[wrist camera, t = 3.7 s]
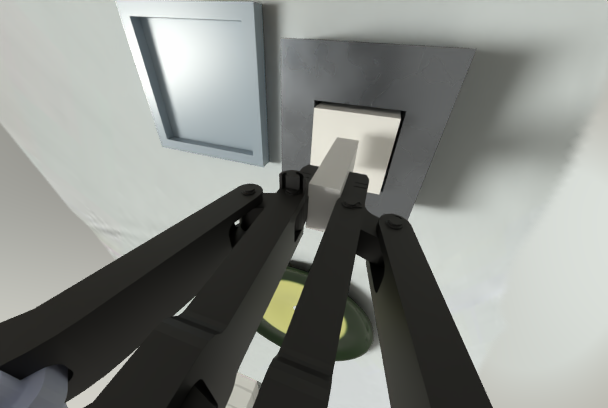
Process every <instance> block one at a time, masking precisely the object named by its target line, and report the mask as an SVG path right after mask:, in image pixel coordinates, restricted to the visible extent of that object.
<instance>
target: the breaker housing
mask: <svg viewBox="0 0 608 408" xmlns="http://www.w3.org/2000/svg"><path fill="white" fill-rule="evenodd" d="M475 51H476V49H469V48H452V47H434V46H417V45H400V44H383V43H366V42H348V41H331V40H314V39H297V38H281V115H282V172H283V171H286V170H297V171H300V170H301V169H302V167H304V166H306V165H310V160H311V146H312V131H313V117H314V107H316V106H317V105H318V104H320V103H321V102H322V101H326V102H335V103H343V104H351V105H359V106H368V107H376V108H384V109H393V110H401V112H400V113H401V120H400V124H399V127H398V131H397V134H396V138H395V141H394V145H393V148H392V152H391V155H390V159H389V162H388V166H387V169H386V173H385V176H384V180H383V184H382V187H381V191H380V194H374V193H369V192H367V195H366V201H365V207H366V209H367V210H368V211H369V212H370V213H371V214H373V215H375V216H377V217H379V218H380V216H381V215H384V214H396V215H399V216H401V217H403V218H405V219H406V220H408V218H409V216H410V213H411V211H412V208H413V206H414V203H415V201H416V198H417V196H418V193H419V191H420V188H421V186H422V183H423V181H424V178H425V176H426V173H427V171H428V168H429V166H430V163H431V161H432V158H433V156H434V153H435V151H436V148H437V146H438V143H439V141H440V138H441V136H442V133H443V131H444V129H445V126H446V124H447V121H448V119H449V116H450V114H451V111H452V109H453V106H454V104H455V101H456V99H457V96H458V94H459V91H460V89H461V86H462V84H463V81H464V79H465V76H466V74H467V71H468V69H469V66H470V64H471V61H472V59H473V56H474V54H475Z"/></svg>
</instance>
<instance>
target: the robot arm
mask: <svg viewBox="0 0 608 408" xmlns="http://www.w3.org/2000/svg"><path fill="white" fill-rule="evenodd" d="M358 144H359V140H352V139H346V138H339V137H337V138H336V140H335V141H334V143H333V145H332V146H331V148H330V150H329V151H328V153H327V155H326V156H325V158H324V159H323V161H322V163H321V164H320V166H314V165H306V166H304V167H302V169H301V170H300V171H297V170H286V171H283V172H281V173H280V174H279V182H280V189H279V190H278V191H277V193H263V189H262V188H261V187H260V186H259V185H256V184H245V185H241V186H239V187H237V188H236V189H234V190H232V191H231V192H229V193H227V194H226V195H224V196H222V197H221V198H219V199H217V200H216V201H214V202H212V203H211V204H209V205H207V206H206V207H204V208H202V209H201V210H199V211H197V212H196V213H194V214H192V215H190V216H189V217H187V218H185V219H184V220H182V221H180V222H179V223H177V224H175V225H174V226H172V227H170V228H169V229H167V230H165V231H164V232H162V233H160V234H159V235H157V236H155V237H154V238H152V239H150V240H149V241H147V242H145V243H144V244H142V245H140V246H139V247H137V248H135V249H134V250H132V251H130V252H129V253H127V254H125V255H124V256H122V257H120V258H118V259H117V260H115V261H114V262H112V263H110V264H108V265H107V266H105V267H103V268H102V269H100V270H98V271H97V272H95V273H94V274H92V275H90V276H88V277H87V278H85V279H83V280H82V281H80V282H78V283H77V284H75V285H73V286H72V287H70V288H68V289H67V290H65V291H63V292H62V293H60V294H59V295H57V296H55V297H53V298H52V299H50V300H48V301H47V302H45V303H43V304H41V305H40V306H38V307H36V308H35V309H33V310H30V311H28V312H26V313H23V314H21V315H18V316H16V317H14V318H11V319H9V320H6V321H4V322H1V323H0V408H68V407H67V405H66V402H67V401H69V400H71V399H72V398H74V397H75V396H77V395H78V394H80V393H81V392H83V391H85V390H86V389H87V388H89V387H90V386H92V385H93V384H94V383H95V382H97V381H98V380H100V379H101V378H102V377H104V376H105V375H106V374H107V373H109V372H110V371H111V370H112V369H114V368H115V367H116V366H117V365H118V364H120V363H121V362H122V361H123V360H124V359H125V358H127V357H128V356H129V355H130V354H131V353H132V352H133V351H134V350H135V349H137V348H138V347H139V348H138V349H137V350H136V351H135V353H134V354H133V355H132V356H131V357H130V358H129V360H128V361H127V362H126V363H125V365H124V366H123V367H122V368H121V369H120V370H119V372H118V373H117V374H116V375H115V376H114V378H113V379H112V380H111V381H110V383H109V384H108V385H107V386H106V387H105V388H104V390H103V391H102V392H101V393H100V394H99V396H98V397H97V398H96V399H95V400H94V401H93V403H91V404H89V405H87V406H86V407H84V408H225V407H226V405H227V403H228V401H229V398H230V396H231V393H232V391H233V388H234V384H235V380H236V375H237V372H238V369H239V367H240V364H241V362H242V360H243V358H244V356H245V354H246V352H247V350H248V348H249V345H250V343H251V341H252V339H253V337H254V335H255V333H256V331H257V329H258V327H259V325H260V322H261V320H262V318H263V316H264V314H265V312H266V310H267V308H268V306H269V304H270V302H271V299H272V297H273V295H274V293H275V291H276V289H277V287H278V285H279V283H280V281H281V279H282V276H283V274H284V272H285V270H286V268H287V266H288V264H289V262H290V260H291V258H292V256H293V253H294V251H295V249H296V247H297V245H298V243H299V241H300V239H301V237H302V235H303V228H304V224H305V222H306V228H310V229H314V230H318V231H322V232H324V235H323V237H322V240H321V242H320V245H319V248H318V250H317V253H316V256H315V258H314V261H313V264H312V266H311V269H310V271H309V274H308V277H307V279H306V282H305V285H304V287H303V290H302V293H301V295H300V298H299V300H298V303H297V306H296V308H295V311H294V314H293V316H292V319H291V322H290V324H289V327H288V329H287V332H286V335H285V337H284V340H283V343H282V345H281V348H280V350H279V352H278V354H277V355H276V356H275V357H274V358H273V360H272V362H271V364H270V365H269V368H268V370H267V372H266V375H265V377H264V380H263V382H262V385H261V387H260V390H259V392H258V395H257V397H256V400H255V403H254V405H253V408H327V407H328V401H329V396H330V390H331V384H332V374H333V369H334V364H335V358H336V353H337V348H338V343H339V338H340V333H341V327H342V322H343V317H344V312H345V307H346V302H347V296H348V291H349V286H350V281H351V276H352V271H353V265H354V260H355V255H356V254H357V255H358V256H360V257H362V258H364V259H366V267H367V272H368V278H369V284H370V290H371V295H372V301H373V307H374V313H375V318H376V324H377V330H378V336H379V341H380V347H381V353H382V359H383V365H384V370H385V376H386V382H387V388H388V393H389V399H390V405H391V408H493V407H492V405H491V403H490V400H489V398H488V396H487V394H486V392H485V389H484V387H483V385H482V383H481V380H480V378H479V376H478V374H477V371H476V369H475V367H474V365H473V362H472V360H471V358H470V356H469V354H468V351H467V349H466V347H465V345H464V342H463V340H462V338H461V336H460V333H459V331H458V329H457V327H456V325H455V322H454V320H453V318H452V316H451V313H450V311H449V309H448V307H447V304H446V302H445V300H444V298H443V295H442V293H441V291H440V289H439V287H438V284H437V282H436V280H435V278H434V275H433V273H432V271H431V269H430V266H429V264H428V262H427V260H426V257H425V255H424V253H423V251H422V249H421V246H420V244H419V242H418V240H417V237H416V235H415V233H414V231H413V228H412V226H411V224H410V223H409V222H408V220H406V219H405V218H403V217H401V216H399V215H396V214H384V215H381V216H380V218H379V217H377V216H375V215H373V214H371V213H370V212H369V211H368V210H367V209H366V207H365V201H366V195H367V190H368V185H369V178H368V176H367V175H365V174H360V173H354V172H353V170H354V165H355V159H356V154H357V149H358ZM237 220H239V221H240V223H239V224H237V225H235V224H234V223H235V222H236V221H237ZM195 296H196V297H195ZM194 297H195V298H194ZM193 298H194V299H193ZM191 299H193V300H192V302H191V303H190V304H189V306H188V307H187V308H186V309H185V310H184V311H183V313H181V314H180V315H178V316H174V315H175V314H176V313H177V312H178V311H179V310H180V309H181V308H183V307H184V306H185V305H186V304H187V303H188V302H189V301H190V300H191ZM172 316H173V317H172Z"/></svg>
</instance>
